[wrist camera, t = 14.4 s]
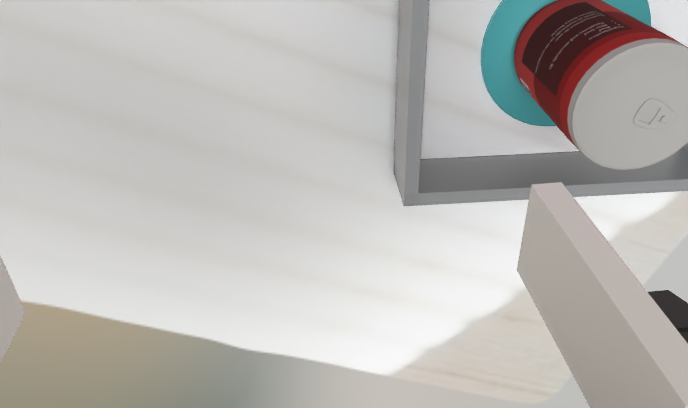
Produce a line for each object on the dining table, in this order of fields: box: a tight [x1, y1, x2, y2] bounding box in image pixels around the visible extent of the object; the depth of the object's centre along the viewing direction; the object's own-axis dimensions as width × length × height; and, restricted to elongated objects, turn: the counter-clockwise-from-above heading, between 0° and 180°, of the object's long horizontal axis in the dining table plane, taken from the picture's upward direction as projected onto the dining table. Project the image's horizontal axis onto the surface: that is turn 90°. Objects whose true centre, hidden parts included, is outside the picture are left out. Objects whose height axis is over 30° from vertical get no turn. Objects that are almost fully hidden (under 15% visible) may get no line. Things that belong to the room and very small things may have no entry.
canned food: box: [514, 0, 688, 170], centre depth 37 cm, size 8×8×11 cm
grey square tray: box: [394, 0, 688, 206], centre depth 40 cm, size 24×19×5 cm
